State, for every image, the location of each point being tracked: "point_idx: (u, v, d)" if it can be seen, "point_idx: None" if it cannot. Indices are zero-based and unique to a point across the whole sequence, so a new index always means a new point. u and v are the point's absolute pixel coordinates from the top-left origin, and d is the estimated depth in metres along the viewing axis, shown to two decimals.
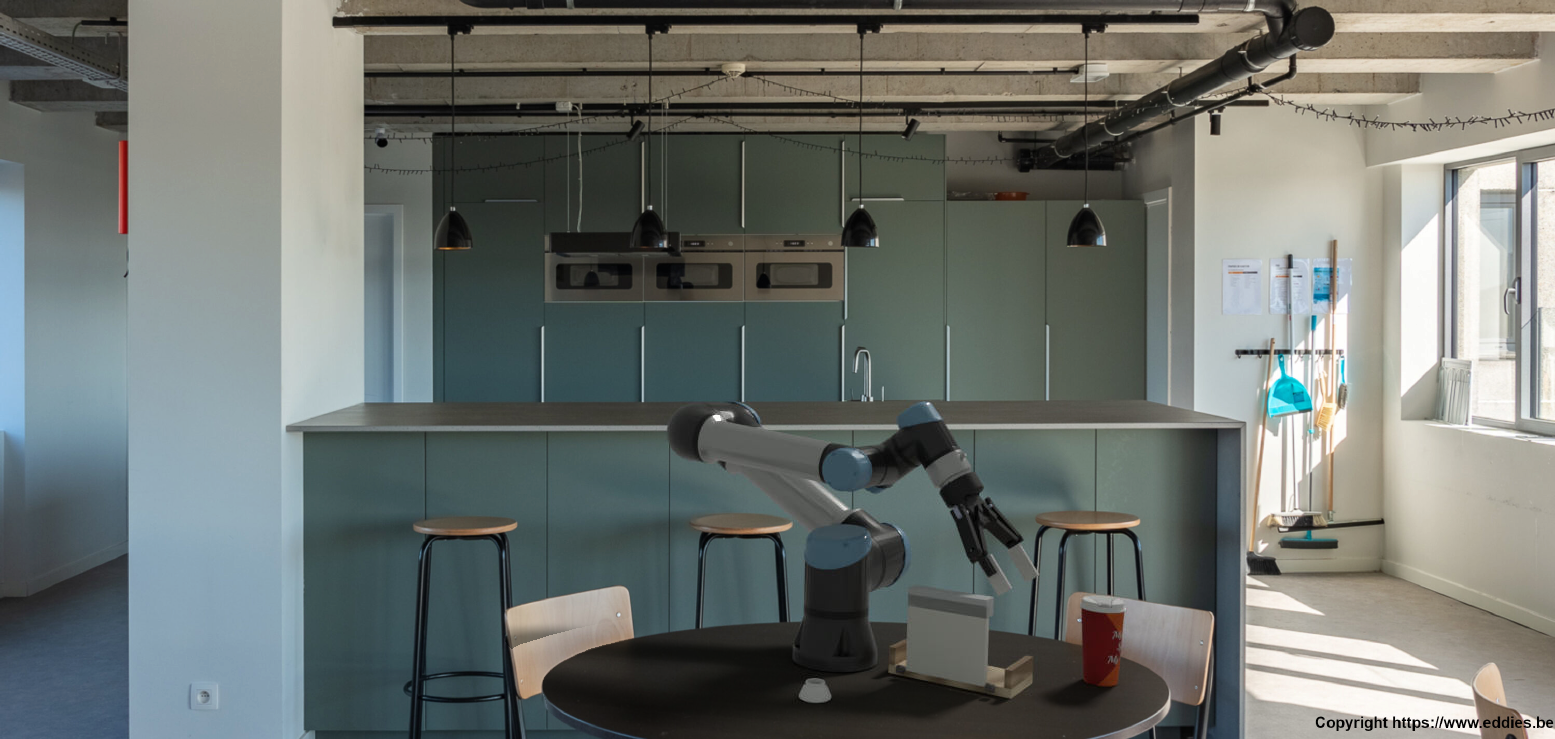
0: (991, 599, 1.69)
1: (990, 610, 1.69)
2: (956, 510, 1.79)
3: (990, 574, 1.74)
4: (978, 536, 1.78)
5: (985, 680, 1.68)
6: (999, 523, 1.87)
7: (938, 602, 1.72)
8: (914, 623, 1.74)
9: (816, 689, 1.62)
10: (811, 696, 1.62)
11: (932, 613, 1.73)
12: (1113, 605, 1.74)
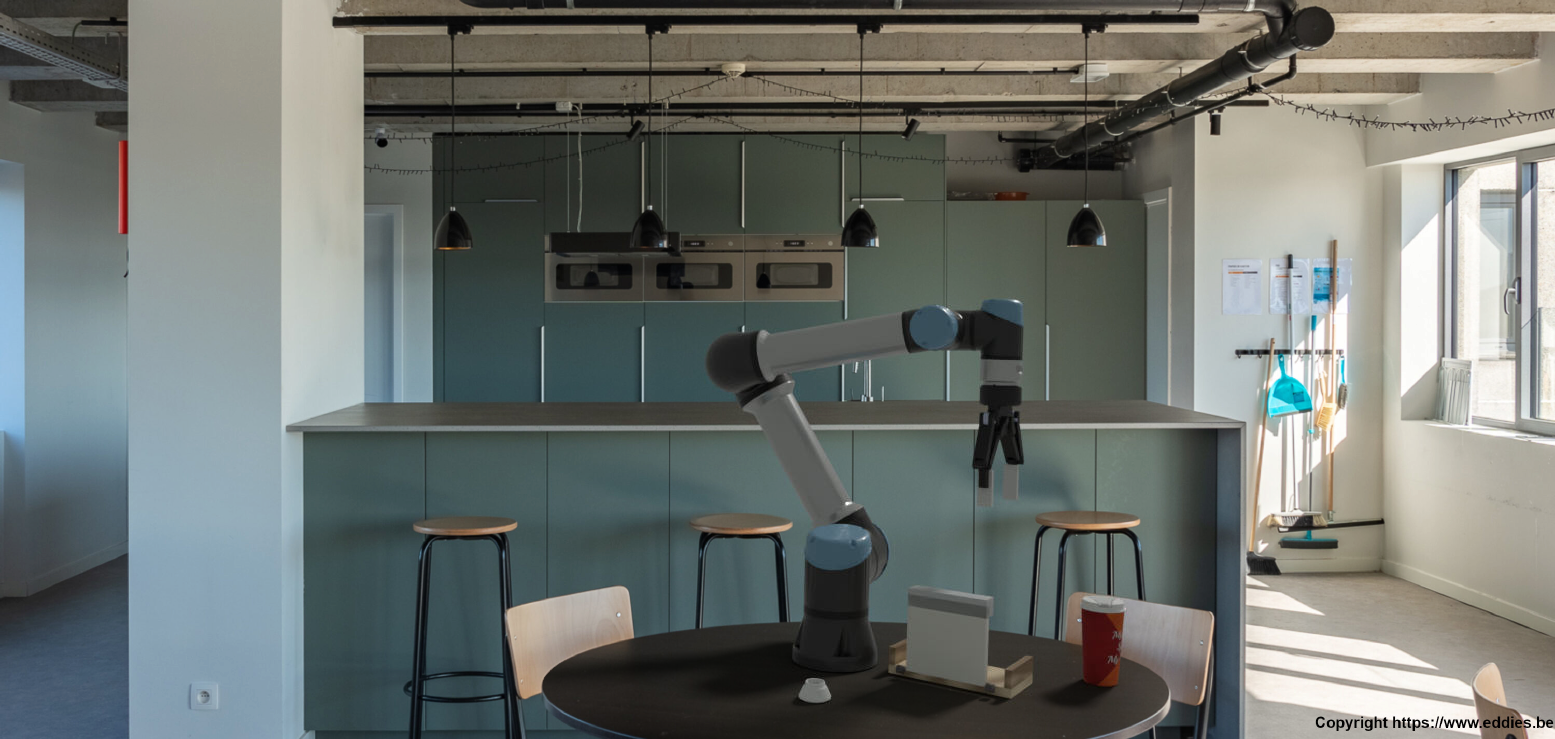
0: (991, 599, 1.69)
1: (990, 610, 1.69)
2: (986, 416, 1.83)
3: (982, 486, 1.83)
4: (991, 448, 1.84)
5: (985, 680, 1.68)
6: (1013, 439, 1.92)
7: (938, 602, 1.72)
8: (914, 623, 1.74)
9: (816, 689, 1.62)
10: (811, 696, 1.62)
11: (932, 613, 1.73)
12: (1113, 605, 1.74)
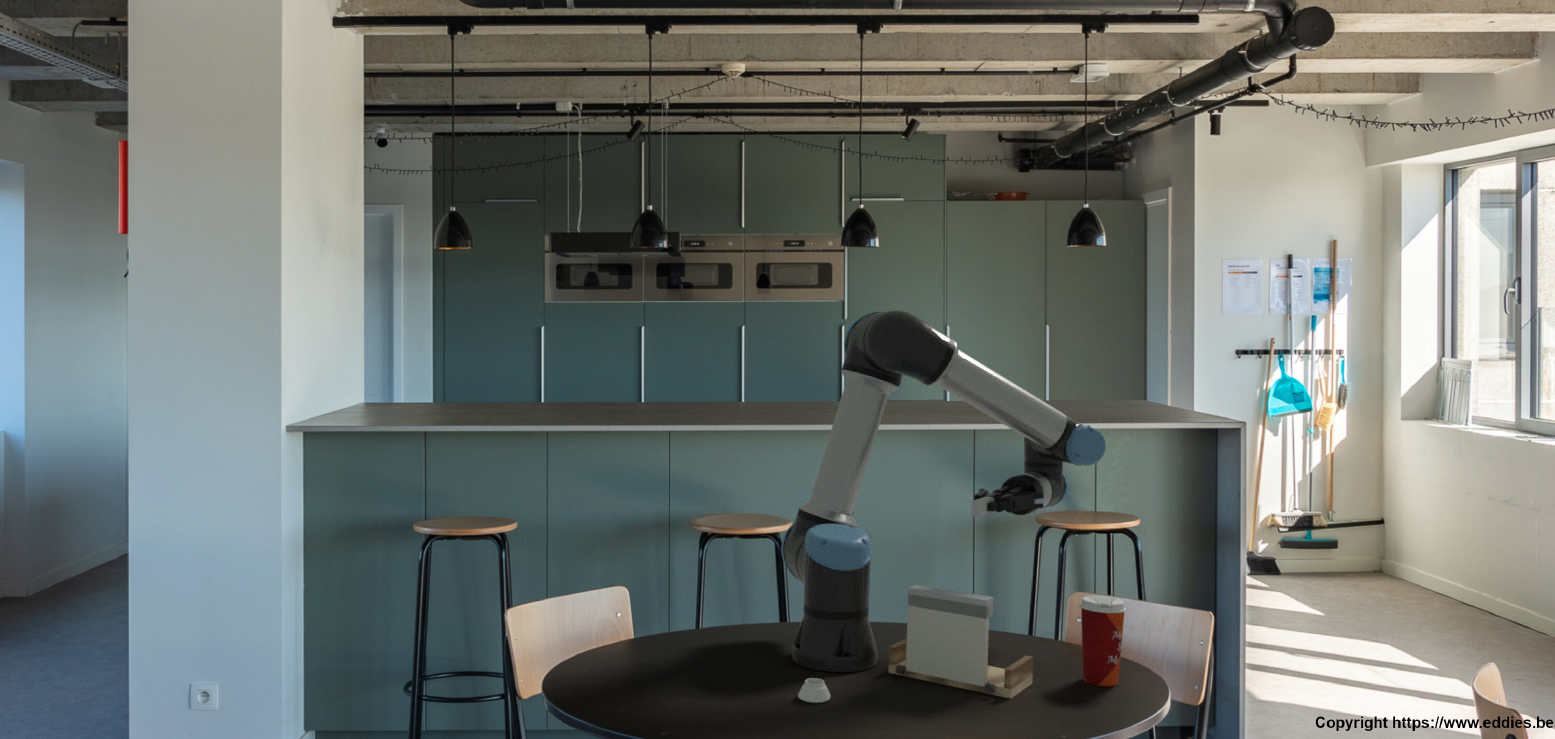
0: (991, 599, 1.69)
1: (990, 610, 1.69)
2: (1041, 501, 1.90)
3: (993, 507, 1.83)
4: None
5: (985, 680, 1.68)
6: None
7: (938, 602, 1.72)
8: (914, 623, 1.74)
9: (816, 689, 1.62)
10: (811, 696, 1.62)
11: (932, 613, 1.73)
12: (1113, 605, 1.74)
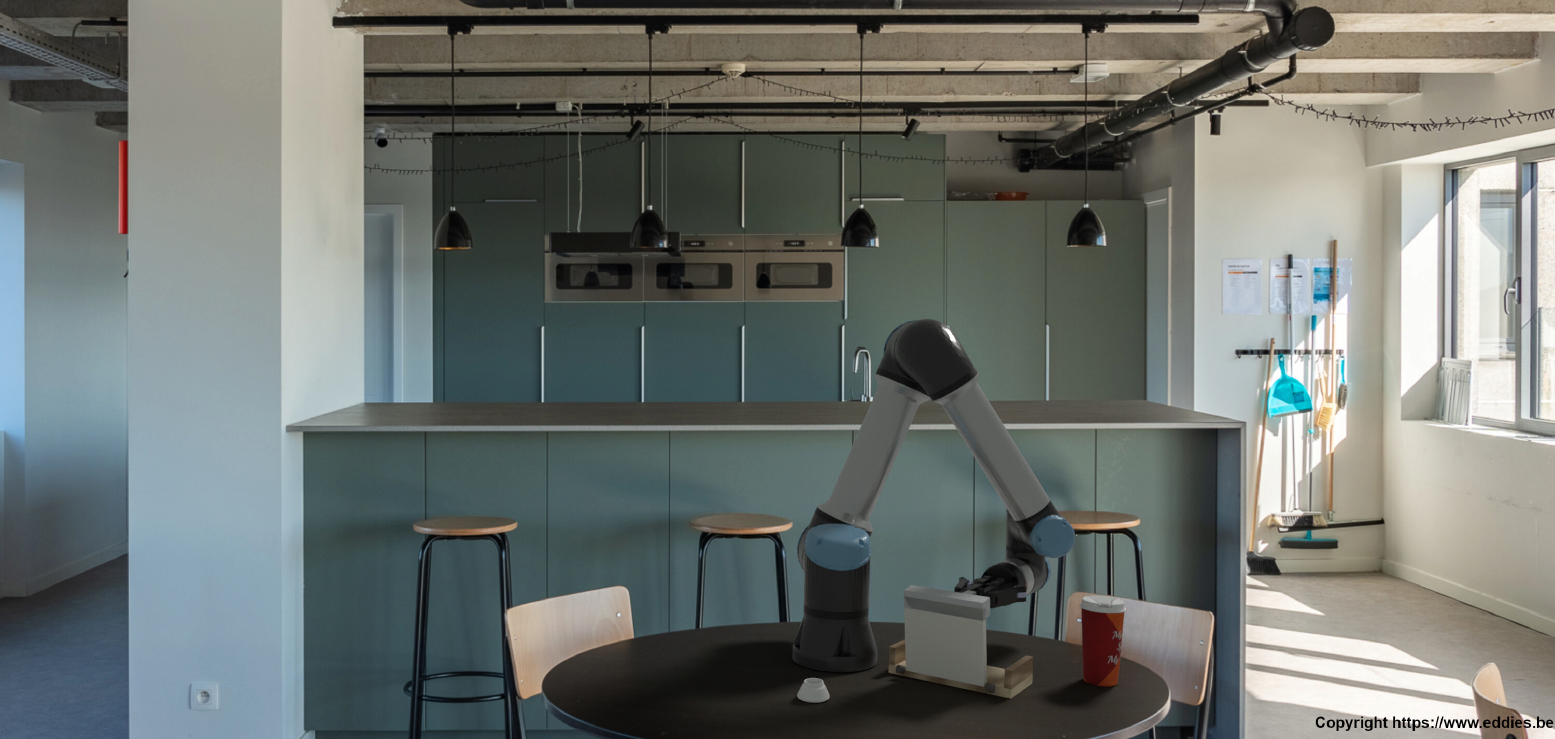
0: (987, 600, 1.68)
1: (987, 611, 1.68)
2: (1025, 595, 1.82)
3: None
4: None
5: (985, 680, 1.68)
6: None
7: (935, 604, 1.71)
8: (912, 624, 1.73)
9: (815, 688, 1.62)
10: (810, 696, 1.62)
11: (929, 615, 1.71)
12: (1113, 605, 1.74)
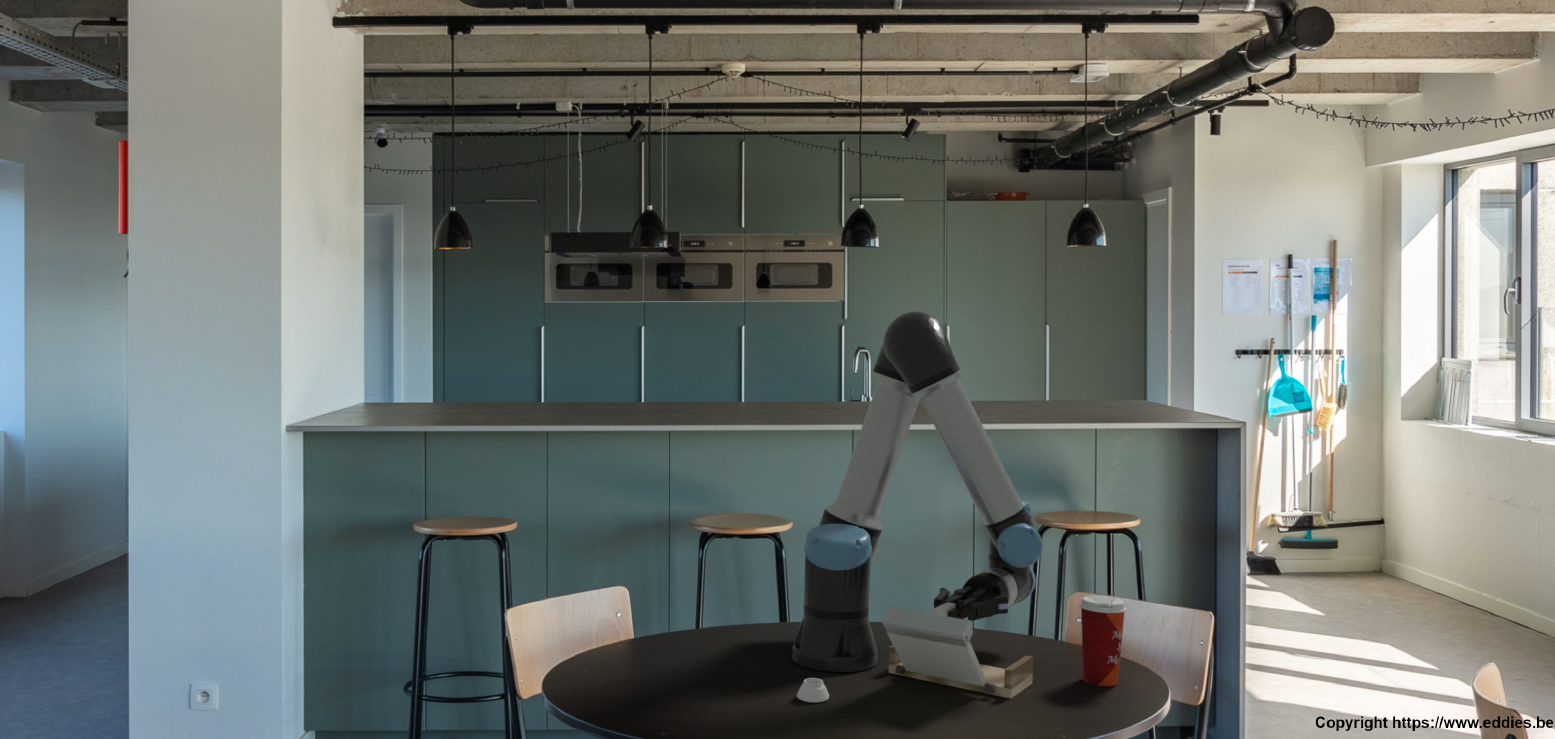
0: (966, 626, 1.61)
1: (969, 633, 1.62)
2: (1006, 606, 1.77)
3: (954, 616, 1.69)
4: None
5: (983, 681, 1.67)
6: None
7: (915, 633, 1.65)
8: (899, 643, 1.70)
9: (815, 688, 1.62)
10: (809, 696, 1.62)
11: (913, 639, 1.67)
12: (1113, 605, 1.74)
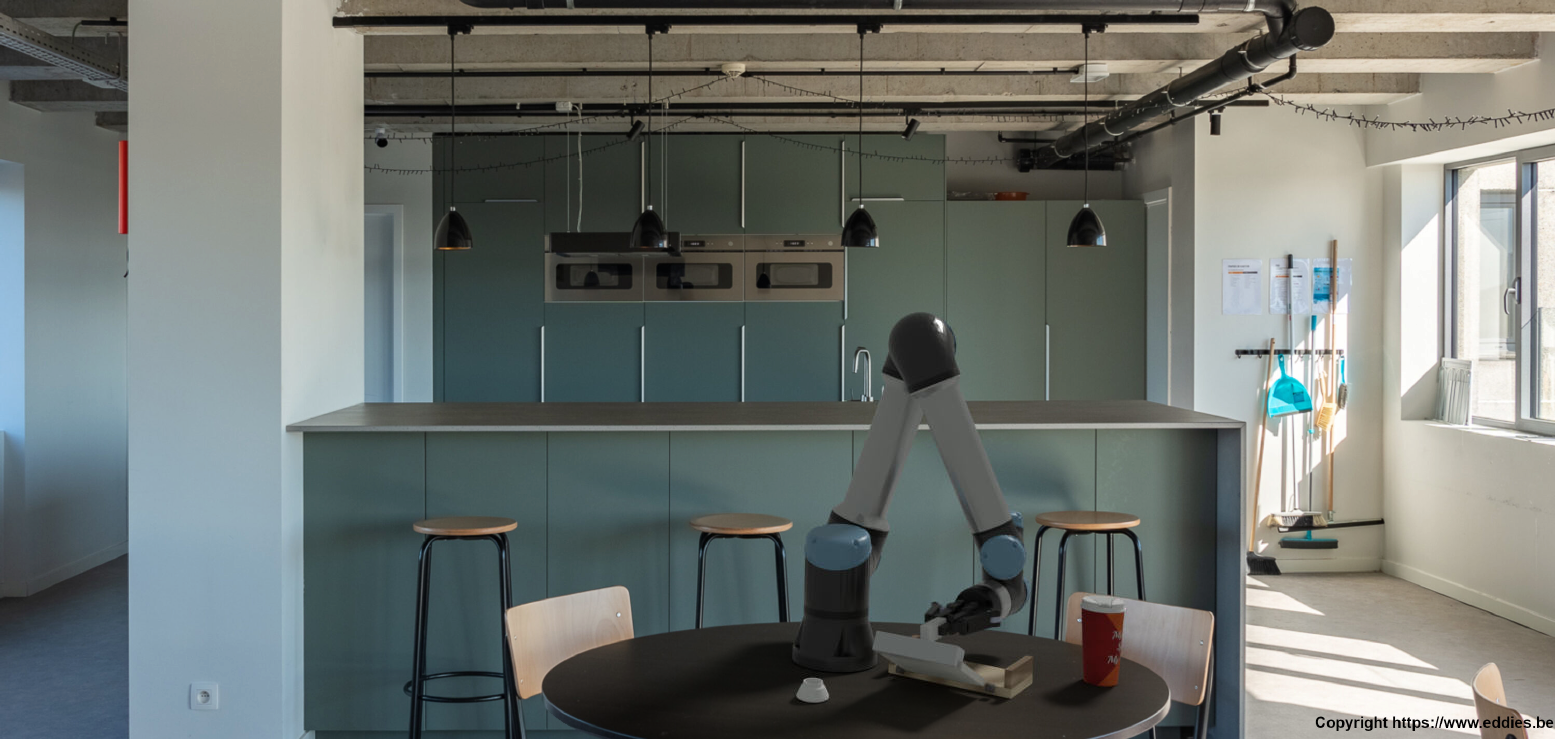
0: (957, 652, 1.58)
1: (961, 656, 1.59)
2: (999, 620, 1.74)
3: (944, 631, 1.66)
4: None
5: (982, 682, 1.67)
6: None
7: (908, 658, 1.63)
8: (894, 659, 1.68)
9: (814, 688, 1.62)
10: (809, 696, 1.62)
11: (906, 659, 1.65)
12: (1113, 605, 1.74)
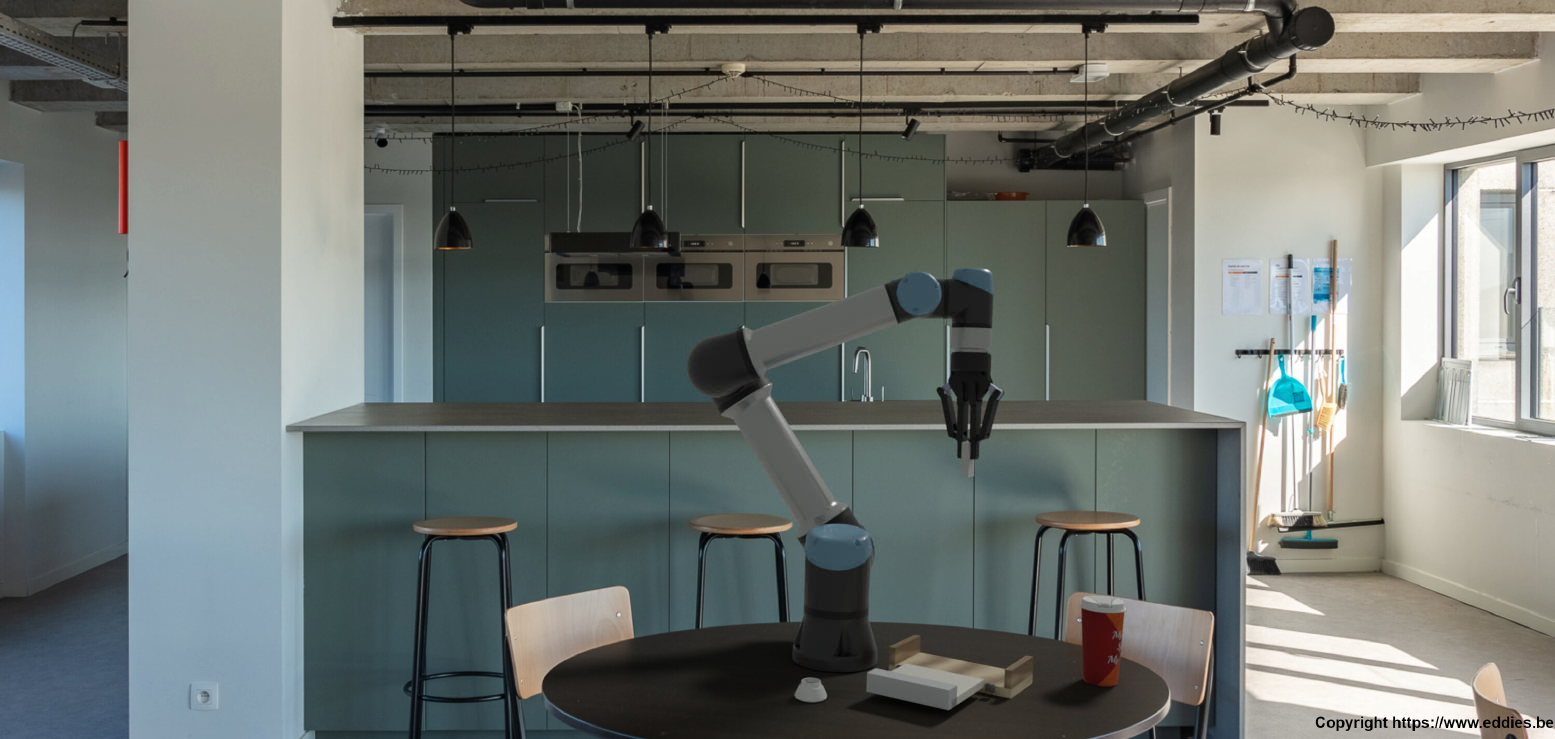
0: (949, 696, 1.56)
1: (954, 694, 1.57)
2: (1001, 394, 1.91)
3: (976, 458, 1.94)
4: (980, 420, 1.94)
5: (982, 685, 1.67)
6: None
7: None
8: None
9: (812, 688, 1.62)
10: (807, 695, 1.62)
11: None
12: (1113, 605, 1.74)
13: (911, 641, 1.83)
